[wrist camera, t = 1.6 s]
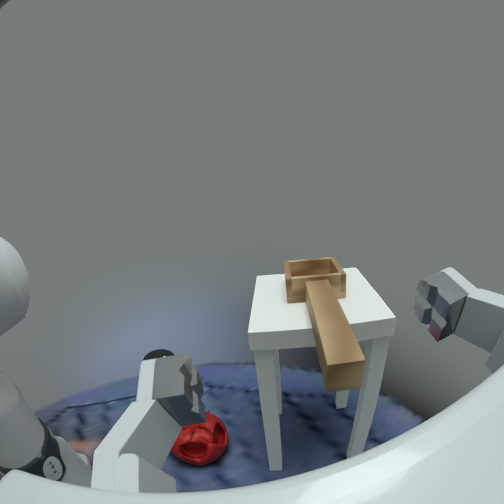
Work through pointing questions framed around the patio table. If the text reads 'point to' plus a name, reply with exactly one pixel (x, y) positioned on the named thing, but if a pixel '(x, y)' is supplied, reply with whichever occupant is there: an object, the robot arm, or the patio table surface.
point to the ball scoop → (327, 319)
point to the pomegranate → (201, 441)
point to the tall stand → (301, 335)
